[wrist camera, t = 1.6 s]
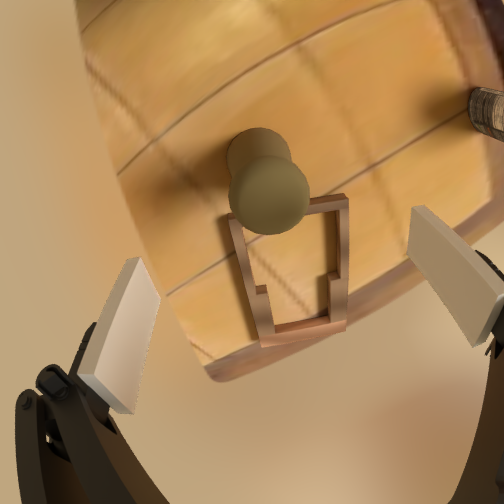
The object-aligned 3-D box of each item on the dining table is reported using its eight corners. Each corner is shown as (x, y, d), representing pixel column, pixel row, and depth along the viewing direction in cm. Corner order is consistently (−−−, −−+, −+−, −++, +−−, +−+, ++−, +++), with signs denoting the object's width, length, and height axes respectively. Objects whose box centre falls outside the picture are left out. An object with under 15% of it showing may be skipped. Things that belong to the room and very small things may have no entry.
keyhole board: (228, 213, 29) (228, 220, 28) (343, 193, 28) (348, 198, 27) (260, 339, 40) (261, 347, 39) (342, 323, 39) (345, 331, 38)
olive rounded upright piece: (225, 187, 27) (220, 249, 18) (227, 126, 24) (221, 154, 15) (287, 189, 28) (313, 251, 19) (293, 129, 24) (329, 161, 15)
